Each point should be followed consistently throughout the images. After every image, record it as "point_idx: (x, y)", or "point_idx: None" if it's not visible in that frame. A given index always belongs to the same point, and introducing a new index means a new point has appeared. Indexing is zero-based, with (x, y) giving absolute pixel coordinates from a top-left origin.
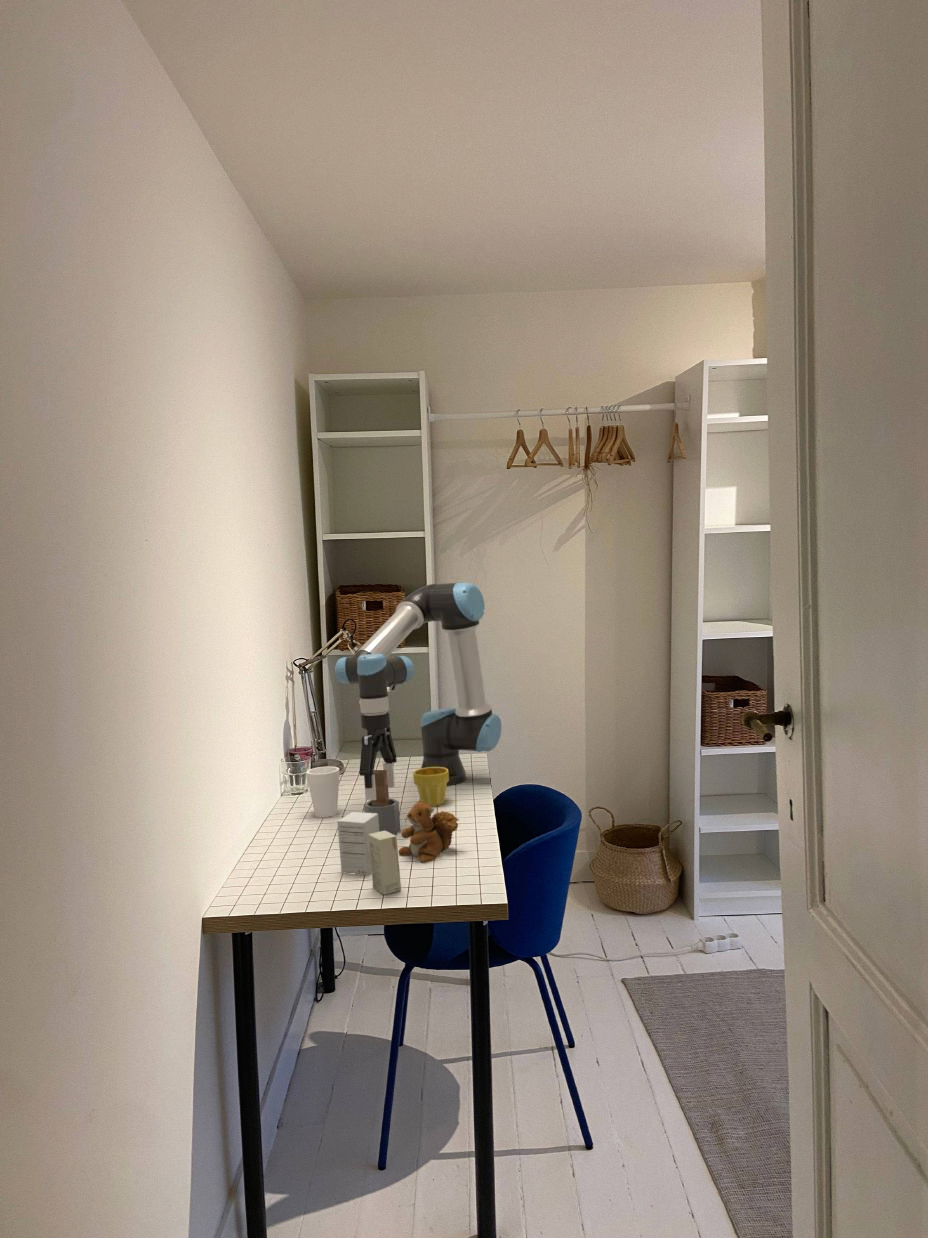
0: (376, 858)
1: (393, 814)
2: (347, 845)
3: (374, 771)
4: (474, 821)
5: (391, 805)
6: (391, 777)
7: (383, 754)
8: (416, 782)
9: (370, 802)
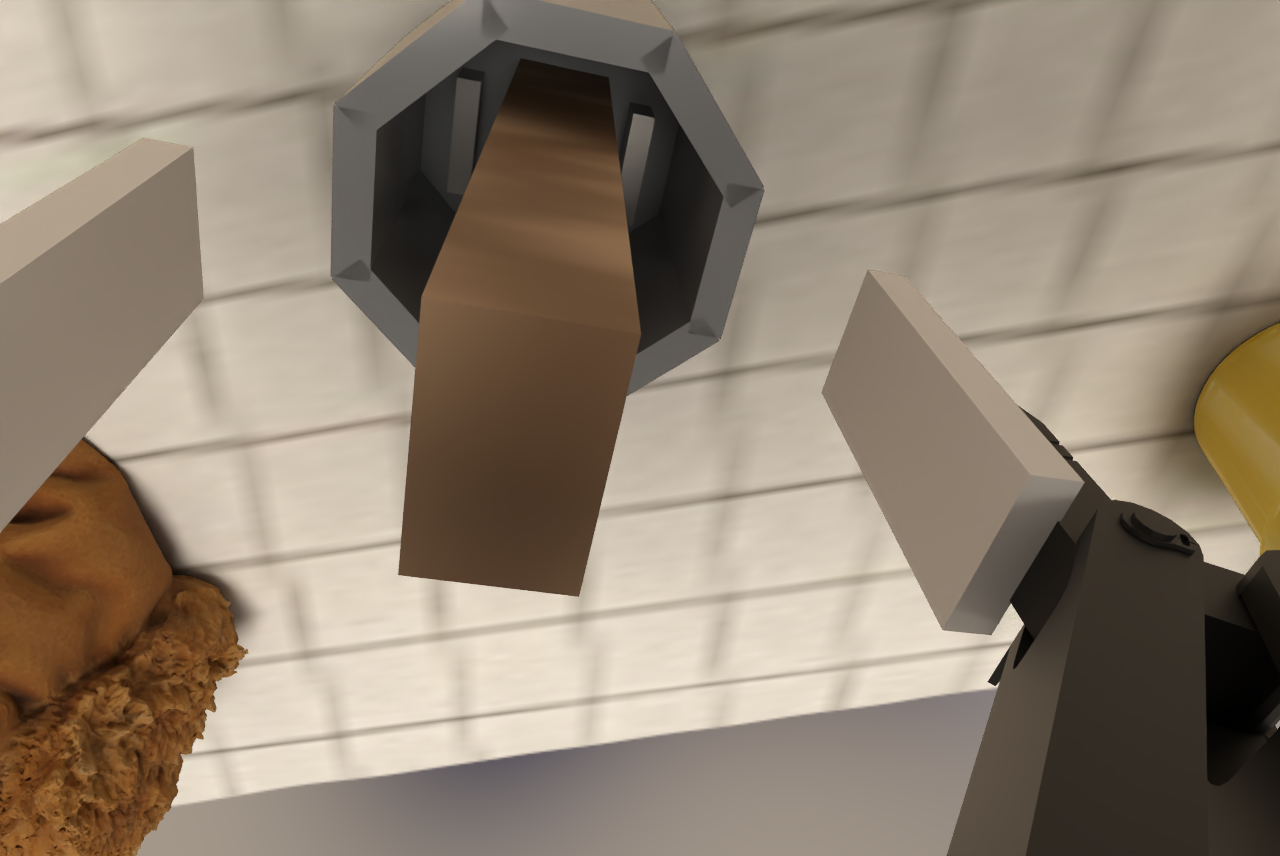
0: None
1: None
2: None
3: (505, 397)
4: (746, 676)
5: None
6: (874, 450)
7: (1037, 702)
8: None
9: (612, 64)
